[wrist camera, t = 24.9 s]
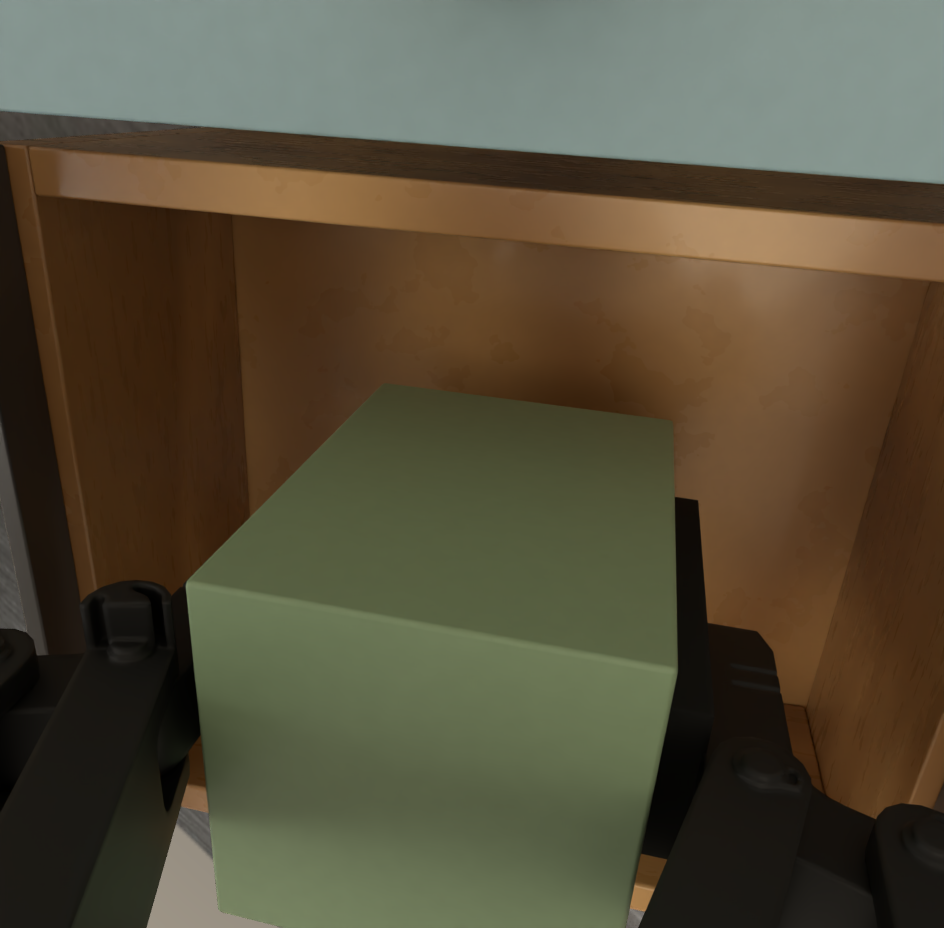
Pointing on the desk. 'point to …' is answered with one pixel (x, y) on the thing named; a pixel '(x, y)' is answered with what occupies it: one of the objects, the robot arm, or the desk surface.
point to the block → (442, 669)
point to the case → (495, 377)
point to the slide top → (511, 75)
